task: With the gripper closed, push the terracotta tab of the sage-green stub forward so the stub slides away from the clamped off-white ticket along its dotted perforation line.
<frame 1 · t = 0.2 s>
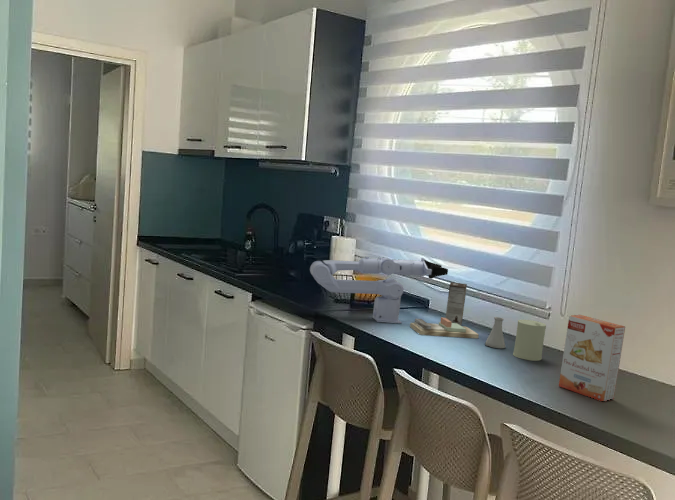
hand: (444, 269, 263), 21 cm above the countertop, tool horizontal, fingers open, 7 cm apart
cracker box: (585, 394, 193), on the countertop
flask: (495, 346, 239), on the countertop
ticket board: (443, 332, 252), on the countertop
can: (527, 357, 229), on the countertop
coffee box: (452, 325, 268), on the countertop
stub: (452, 324, 252), point 3 cm above the countertop, slide at 0.0 cm
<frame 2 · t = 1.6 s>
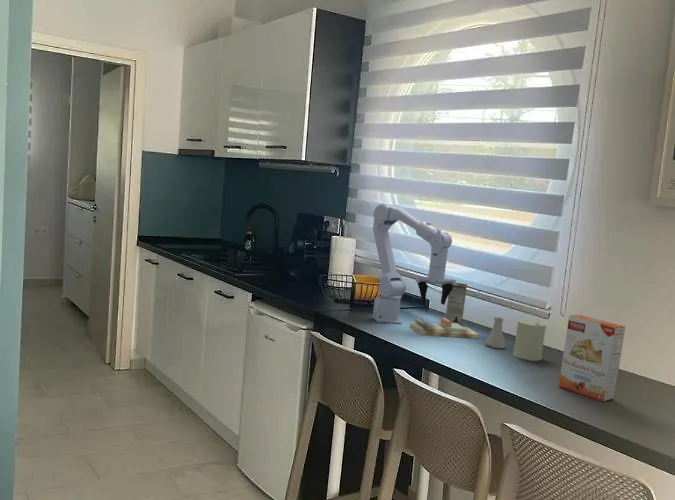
hand: (432, 303, 250), 10 cm above the countertop, tool pointing down, fingers open, 7 cm apart
nothing on the countertop moved.
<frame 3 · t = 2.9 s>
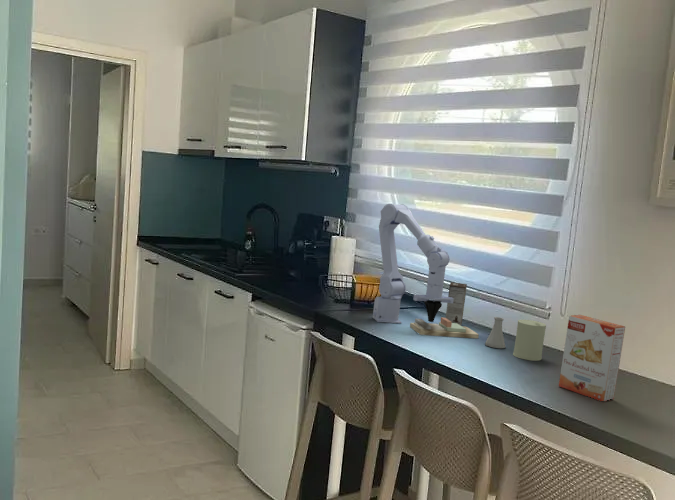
hand: (430, 321, 251), 4 cm above the countertop, tool pointing down, fingers closed
nothing on the countertop moved.
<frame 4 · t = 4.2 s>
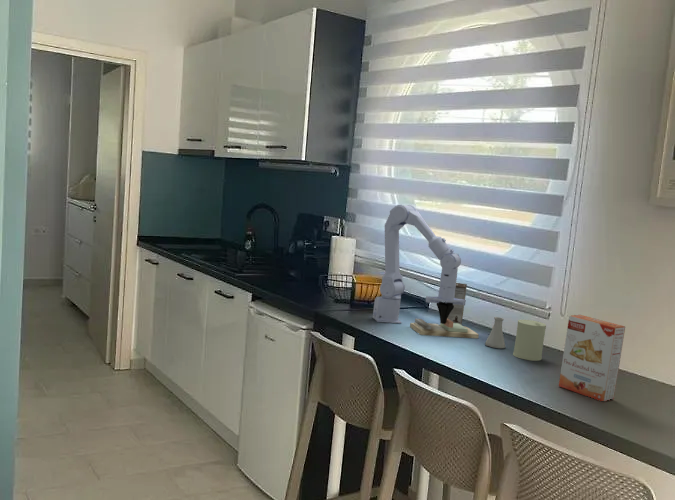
hand: (442, 323, 252), 3 cm above the countertop, tool pointing down, fingers closed
stub: (454, 324, 252), point 3 cm above the countertop, slide at 0.6 cm, touching gripper
everything else where it was.
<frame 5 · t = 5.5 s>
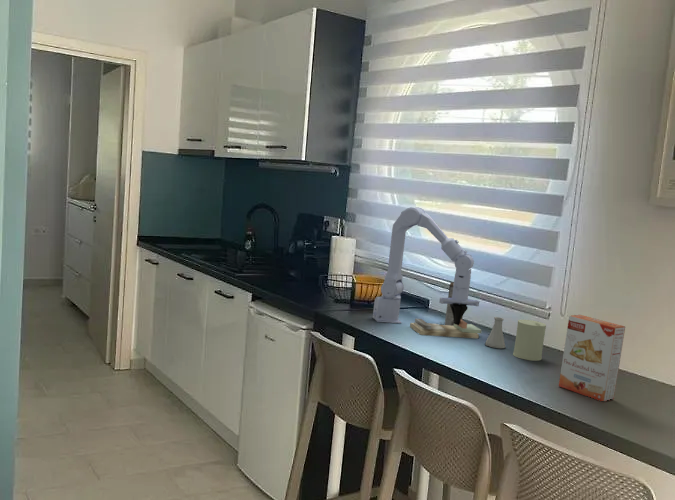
hand: (456, 324, 253), 3 cm above the countertop, tool pointing down, fingers closed
stub: (467, 325, 254), point 3 cm above the countertop, slide at 5.9 cm, touching gripper
everything else where it was.
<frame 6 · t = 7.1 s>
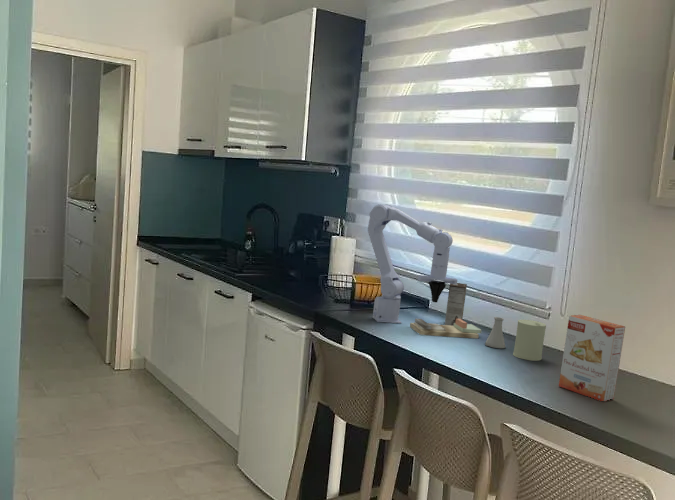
hand: (434, 301, 255), 10 cm above the countertop, tool pointing down, fingers closed
stub: (467, 325, 254), point 3 cm above the countertop, slide at 5.9 cm
everything else where it was.
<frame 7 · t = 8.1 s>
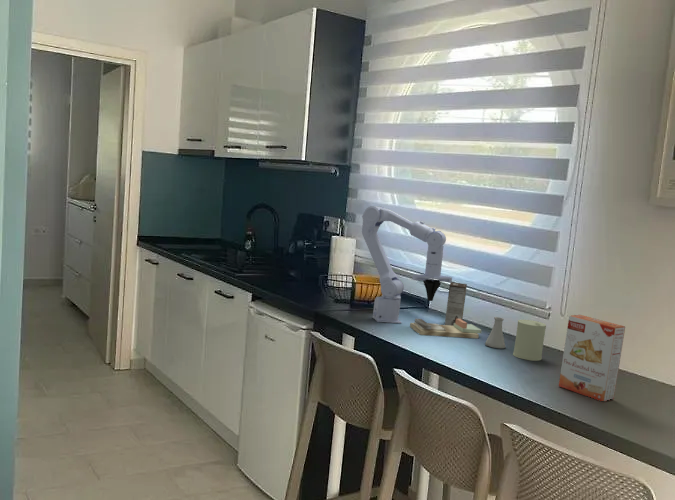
hand: (429, 300, 256), 10 cm above the countertop, tool pointing down, fingers closed
nothing on the countertop moved.
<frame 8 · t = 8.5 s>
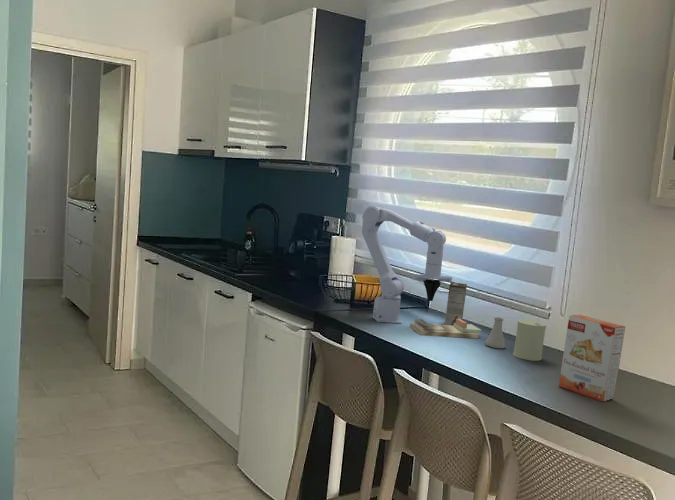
hand: (429, 300, 256), 10 cm above the countertop, tool pointing down, fingers closed
nothing on the countertop moved.
at the end: stub slide at 5.9 cm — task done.
